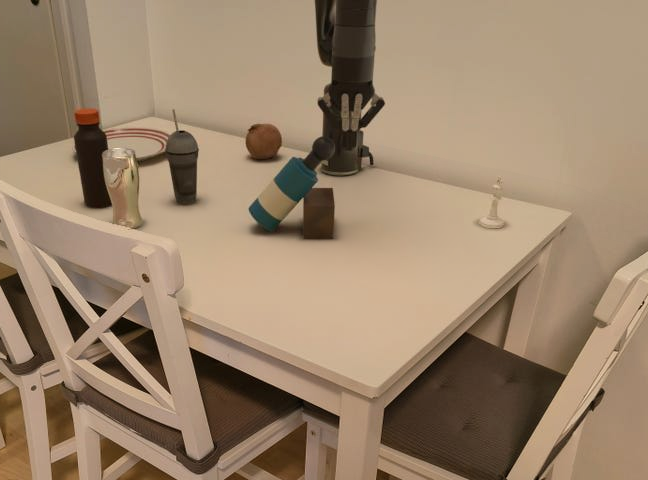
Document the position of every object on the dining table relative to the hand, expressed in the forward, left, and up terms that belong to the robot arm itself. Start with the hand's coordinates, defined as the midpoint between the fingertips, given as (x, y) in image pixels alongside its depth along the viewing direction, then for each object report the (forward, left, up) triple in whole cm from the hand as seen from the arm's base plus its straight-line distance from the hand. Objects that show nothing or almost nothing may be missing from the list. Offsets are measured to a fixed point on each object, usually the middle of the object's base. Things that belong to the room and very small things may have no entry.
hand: (348, 149), depth 131 cm
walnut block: (+5, -3, -16) cm, 17 cm away
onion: (-10, -51, -16) cm, 54 cm away
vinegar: (+38, -41, -16) cm, 58 cm away
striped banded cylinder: (+9, -6, -16) cm, 20 cm away
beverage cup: (+21, -32, -16) cm, 41 cm away
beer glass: (+37, -26, -16) cm, 48 cm away
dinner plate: (+20, -74, -16) cm, 78 cm away
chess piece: (-28, +13, -16) cm, 35 cm away
